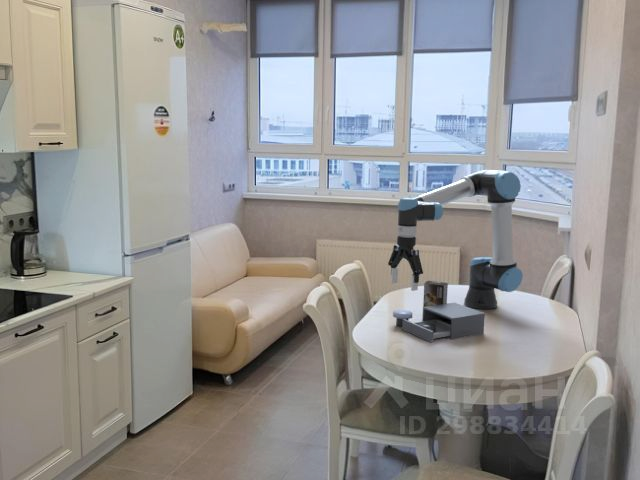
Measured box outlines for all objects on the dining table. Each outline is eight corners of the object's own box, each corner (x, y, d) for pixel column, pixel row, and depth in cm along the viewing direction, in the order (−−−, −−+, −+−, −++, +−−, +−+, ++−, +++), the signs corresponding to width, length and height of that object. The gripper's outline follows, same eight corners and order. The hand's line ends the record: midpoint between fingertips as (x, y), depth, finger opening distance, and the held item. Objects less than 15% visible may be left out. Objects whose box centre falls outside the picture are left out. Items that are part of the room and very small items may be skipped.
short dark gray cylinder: (403, 323, 258) (403, 314, 258) (410, 326, 254) (411, 317, 253) (393, 324, 256) (394, 315, 255) (401, 327, 252) (401, 318, 251)
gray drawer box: (453, 321, 262) (454, 302, 261) (483, 333, 247) (484, 313, 245) (422, 326, 254) (423, 307, 252) (451, 339, 238) (452, 318, 237)
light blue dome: (404, 312, 260) (404, 309, 259) (416, 317, 253) (416, 313, 253) (389, 314, 256) (389, 311, 255) (400, 319, 249) (400, 316, 249)
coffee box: (446, 318, 267) (448, 282, 264) (442, 322, 261) (444, 285, 258) (426, 315, 271) (428, 280, 268) (421, 318, 265) (423, 282, 263)
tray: (434, 324, 257) (435, 314, 256) (464, 336, 242) (465, 326, 241) (402, 329, 249) (402, 319, 248) (430, 342, 233) (431, 331, 233)
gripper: (381, 232, 258) (379, 281, 261) (418, 241, 236) (415, 294, 240) (395, 231, 261) (393, 279, 265) (433, 240, 240) (430, 292, 243)
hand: (404, 286), depth 252 cm, fingers open, 13 cm apart
